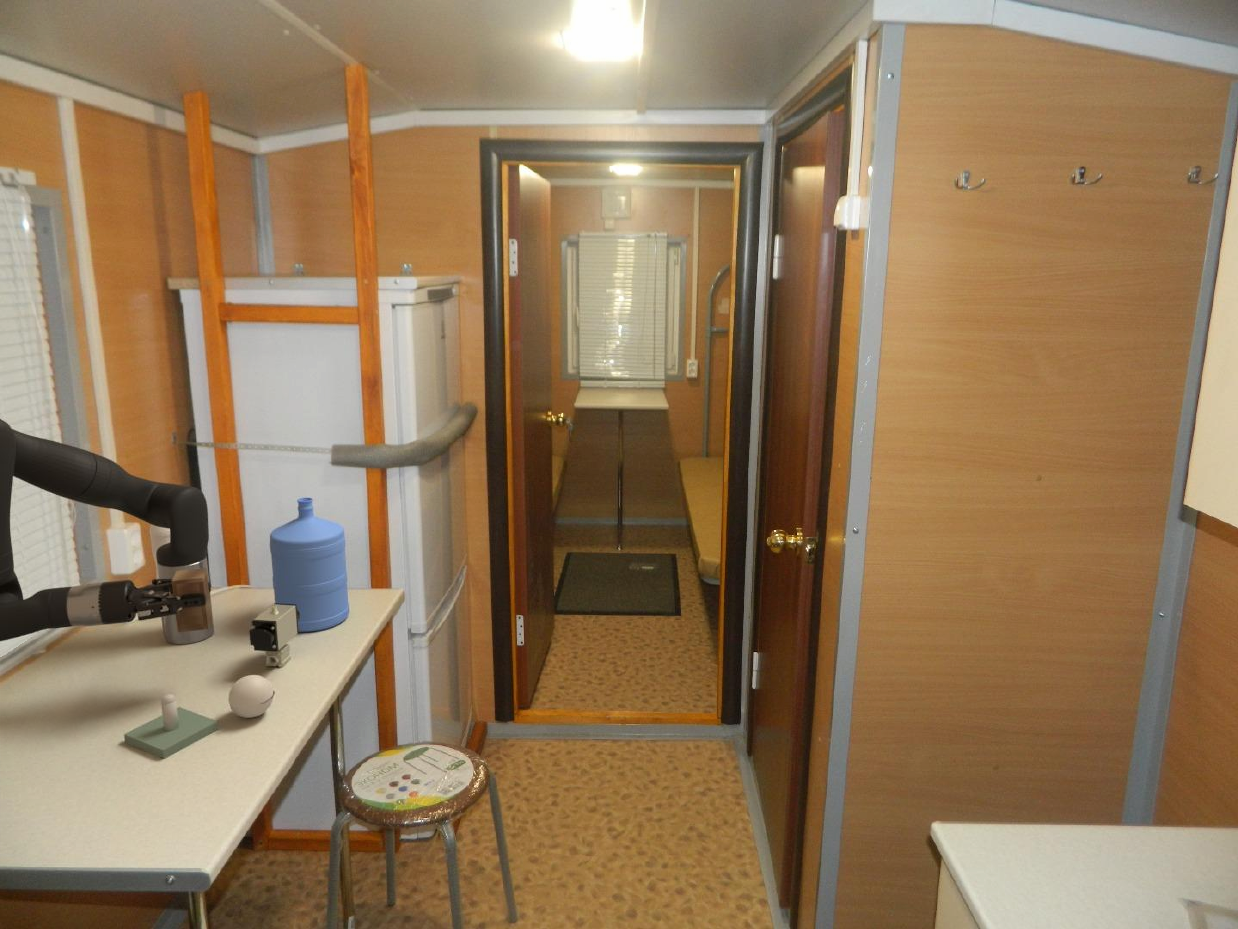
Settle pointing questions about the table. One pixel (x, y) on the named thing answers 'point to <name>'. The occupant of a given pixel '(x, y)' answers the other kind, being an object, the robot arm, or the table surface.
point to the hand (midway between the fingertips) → (207, 593)
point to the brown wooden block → (192, 584)
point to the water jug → (311, 568)
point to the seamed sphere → (251, 696)
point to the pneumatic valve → (275, 632)
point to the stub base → (170, 730)
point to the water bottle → (158, 541)
